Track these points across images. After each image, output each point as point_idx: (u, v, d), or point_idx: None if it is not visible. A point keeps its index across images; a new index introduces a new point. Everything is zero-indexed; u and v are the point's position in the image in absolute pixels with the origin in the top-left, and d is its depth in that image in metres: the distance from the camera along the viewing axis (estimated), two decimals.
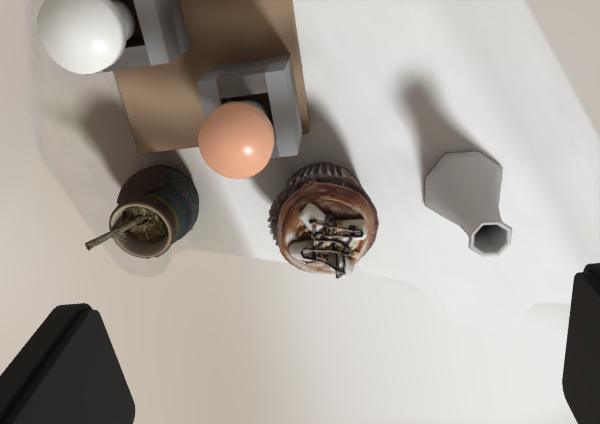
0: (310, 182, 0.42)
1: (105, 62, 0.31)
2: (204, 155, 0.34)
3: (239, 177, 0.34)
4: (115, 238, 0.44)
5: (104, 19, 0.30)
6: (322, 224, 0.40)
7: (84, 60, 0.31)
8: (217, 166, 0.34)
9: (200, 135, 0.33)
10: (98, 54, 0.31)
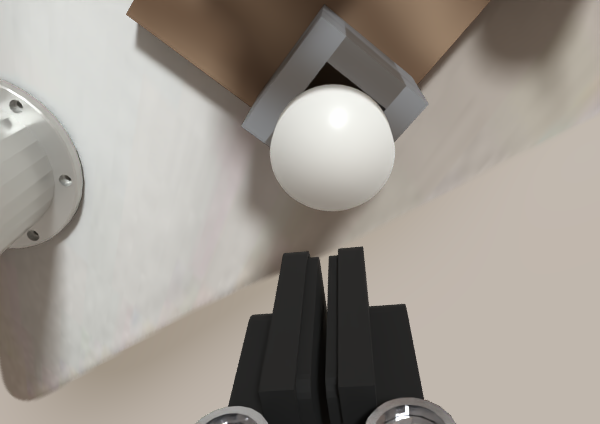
0: None
1: (338, 99, 0.19)
2: None
3: None
4: None
5: (284, 136, 0.20)
6: None
7: (360, 126, 0.19)
8: None
9: None
10: (336, 114, 0.19)
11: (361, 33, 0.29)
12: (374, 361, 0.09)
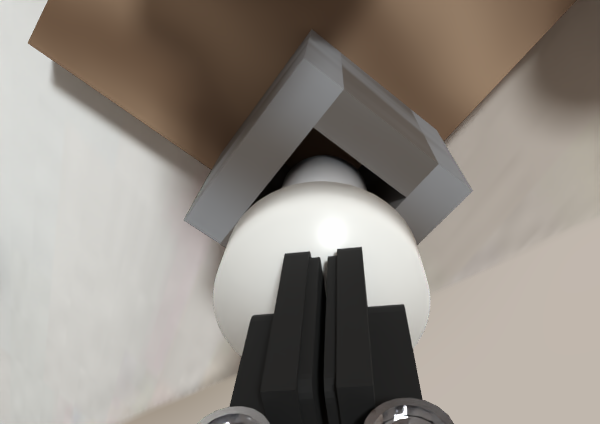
0: None
1: (331, 220, 0.10)
2: None
3: None
4: None
5: (237, 277, 0.11)
6: None
7: (370, 263, 0.11)
8: None
9: None
10: (327, 244, 0.11)
11: (365, 70, 0.20)
12: (372, 361, 0.09)
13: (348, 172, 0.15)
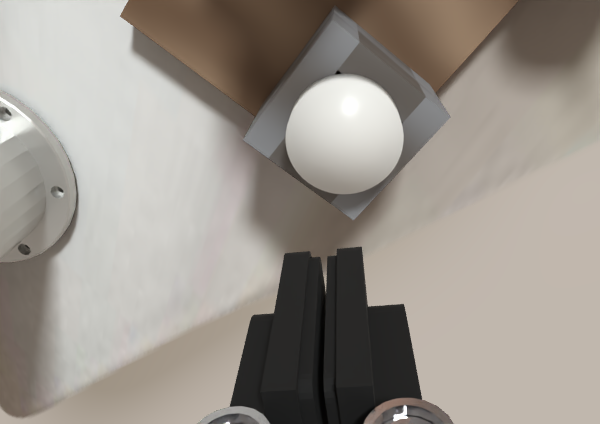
0: None
1: (351, 87, 0.20)
2: None
3: None
4: None
5: (299, 122, 0.21)
6: None
7: (371, 112, 0.20)
8: None
9: None
10: (348, 102, 0.20)
11: (375, 37, 0.26)
12: (372, 361, 0.09)
13: None
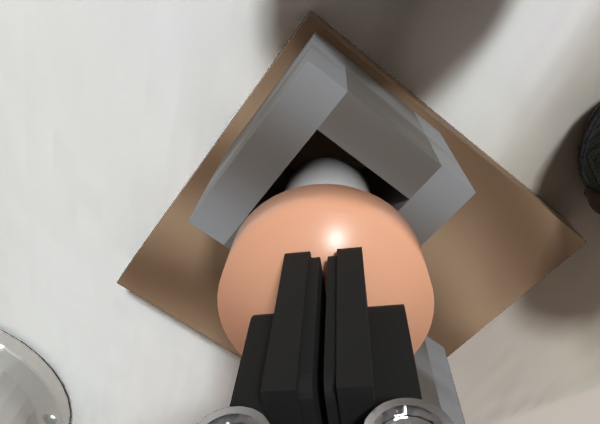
0: None
1: None
2: (414, 344, 0.12)
3: (400, 244, 0.11)
4: None
5: None
6: None
7: None
8: (417, 306, 0.11)
9: None
10: None
11: None
12: (372, 361, 0.09)
13: None
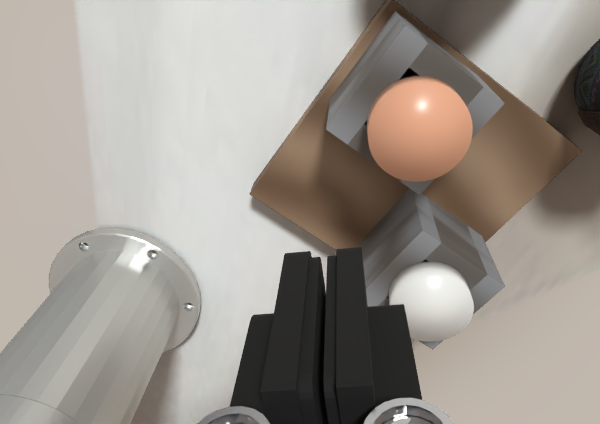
0: None
1: (438, 279, 0.29)
2: (462, 152, 0.24)
3: (456, 97, 0.23)
4: None
5: (400, 299, 0.30)
6: None
7: (451, 294, 0.29)
8: (464, 130, 0.24)
9: (441, 173, 0.25)
10: (435, 287, 0.29)
11: (441, 206, 0.35)
12: (372, 361, 0.09)
13: None
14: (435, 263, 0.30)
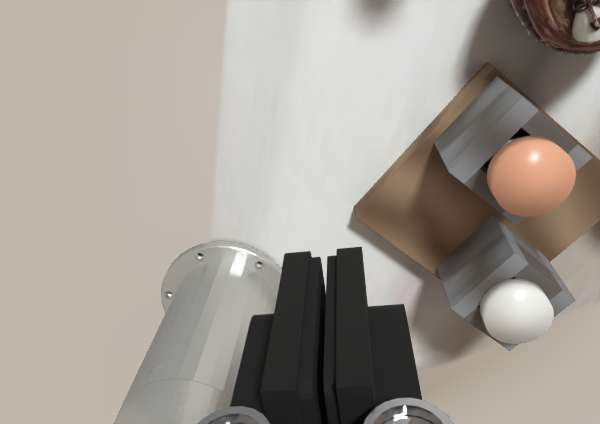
0: (547, 43, 0.32)
1: (527, 293, 0.36)
2: (565, 195, 0.31)
3: (566, 155, 0.30)
4: None
5: (494, 308, 0.37)
6: (591, 12, 0.28)
7: (536, 305, 0.37)
8: (569, 179, 0.31)
9: (546, 211, 0.32)
10: (524, 300, 0.36)
11: (515, 232, 0.42)
12: (372, 361, 0.09)
13: None
14: (522, 280, 0.37)
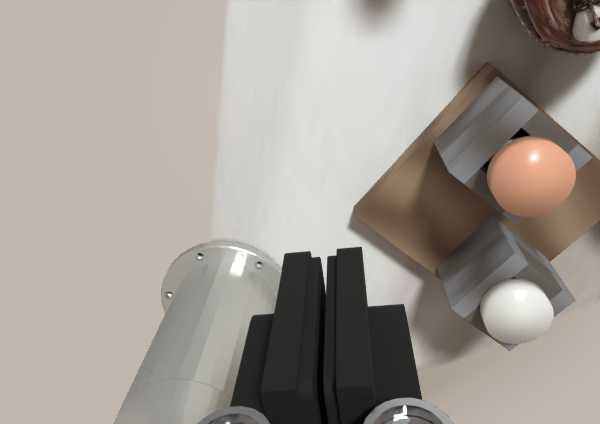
0: (547, 43, 0.32)
1: (527, 293, 0.36)
2: (565, 196, 0.31)
3: (566, 155, 0.30)
4: None
5: (494, 308, 0.37)
6: (592, 11, 0.28)
7: (536, 305, 0.37)
8: (569, 179, 0.31)
9: (546, 211, 0.32)
10: (524, 300, 0.36)
11: (515, 232, 0.42)
12: (372, 361, 0.09)
13: None
14: (522, 280, 0.37)
